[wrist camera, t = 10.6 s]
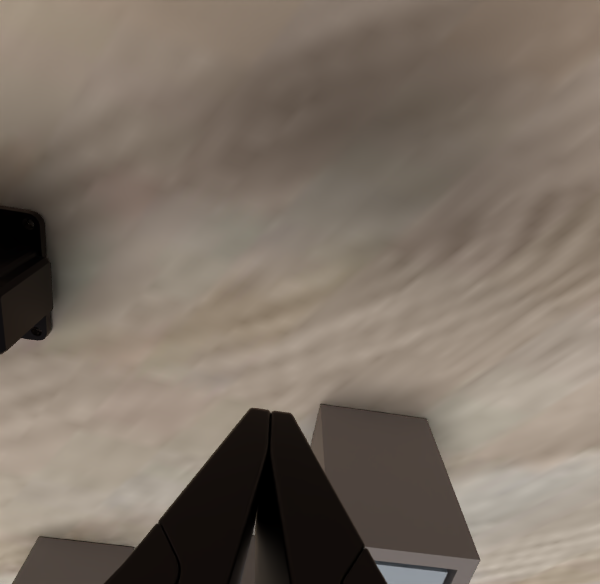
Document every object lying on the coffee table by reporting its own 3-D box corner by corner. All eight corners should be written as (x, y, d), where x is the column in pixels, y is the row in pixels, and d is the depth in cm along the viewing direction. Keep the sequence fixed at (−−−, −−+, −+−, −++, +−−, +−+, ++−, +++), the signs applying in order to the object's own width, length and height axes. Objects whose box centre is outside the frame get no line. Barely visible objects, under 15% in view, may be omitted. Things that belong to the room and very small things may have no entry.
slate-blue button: (326, 566, 22) (329, 623, 20) (344, 507, 20) (349, 561, 18) (407, 576, 22) (420, 632, 20) (431, 518, 21) (447, 572, 18)
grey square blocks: (44, 595, 32) (-36, 755, 24) (22, 363, 24) (-105, 492, 16) (352, 627, 33) (367, 787, 26) (426, 418, 25) (480, 560, 18)
